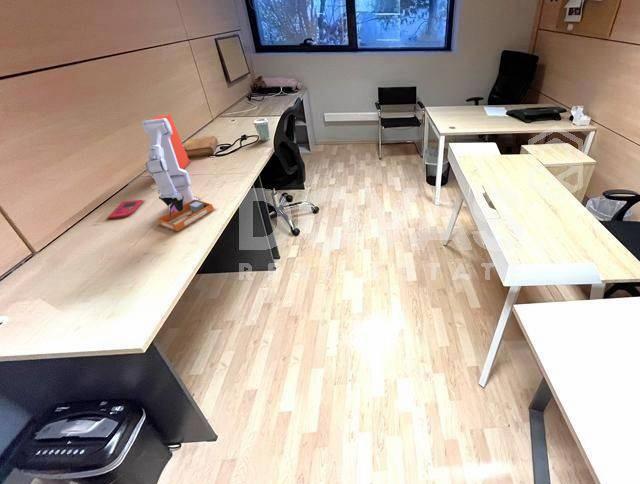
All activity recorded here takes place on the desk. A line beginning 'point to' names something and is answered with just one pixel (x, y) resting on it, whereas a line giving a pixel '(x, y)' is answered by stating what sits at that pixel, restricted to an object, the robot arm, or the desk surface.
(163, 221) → the wooden tray
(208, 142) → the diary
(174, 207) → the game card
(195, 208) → the small cube
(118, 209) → the handheld gaming console
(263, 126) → the disposable coffee cup
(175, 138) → the file binder
